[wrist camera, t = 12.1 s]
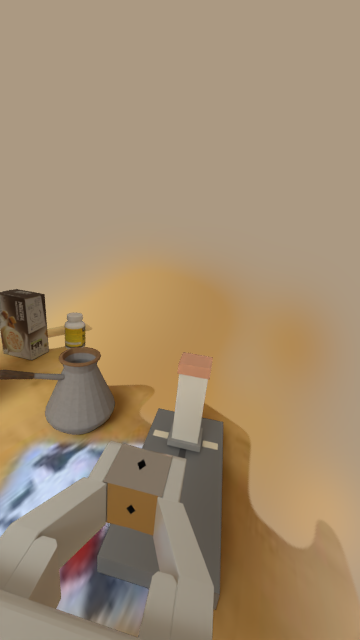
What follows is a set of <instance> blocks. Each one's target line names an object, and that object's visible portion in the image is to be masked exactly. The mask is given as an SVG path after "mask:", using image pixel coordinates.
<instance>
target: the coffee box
mask: <svg viewBox="0 0 360 640" xmlns="http://www.w3.org/2000/svg"><path fill="white" fill-rule="evenodd" d="M0 331H1V338H2V344H3V351H4V354H8V355H12V356H16V357H20V358H24V359H28V360H33V359H35V358H37V357H39V356H41V355H43V354H45V353H46V352H48V351H49V347H48V334H47V322H46V309H45V297H44V294H40V293H35V292H29V291H23V290H18V289H16V290H9V291H4V292H0Z"/></svg>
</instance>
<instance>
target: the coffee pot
mask: <svg viewBox="0 0 360 640" xmlns="http://www.w3.org/2000/svg"><path fill="white" fill-rule="evenodd" d="M100 357H101V355H100V352H99V351H97V350H96V349H93V348H88V347H75V348H70V349H68V350H66V351H64V352H63V353H61V355H60V356H59V360H60V362H61V363H62V364H63V366H64V369H63V371H62V373H61V374H41V373H30V372H21V371H11V370H0V379H33V378H34V379H51V380H58V382H57V384H56V386H55V389H54V391H53V393H52V395H51V397H50V400H49V402H48V404H47V406H46V411H45V416H46V419H47V421H48V422H49V423H50V425H51V426H52V427H53V428H54V429H56V430H59V431H61V432H64V433H68V434H73V435H74V434H84V433H88V432H90V431H93V430H94V429H96V428H97V427H99V426H101V425H102V424H103V423H104V422H105V421H106V420H108V418H109V417H110V415H111V413H112V412H113V410H114V406H115V401H114V397H113V395H112V393H111V391H110V389H109V387H108V386H107V384H106V382H105V380H104V378H103V376H102V374H101V372H100V370H99V368H98V367H97V362H98V360H99V359H100Z"/></svg>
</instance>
